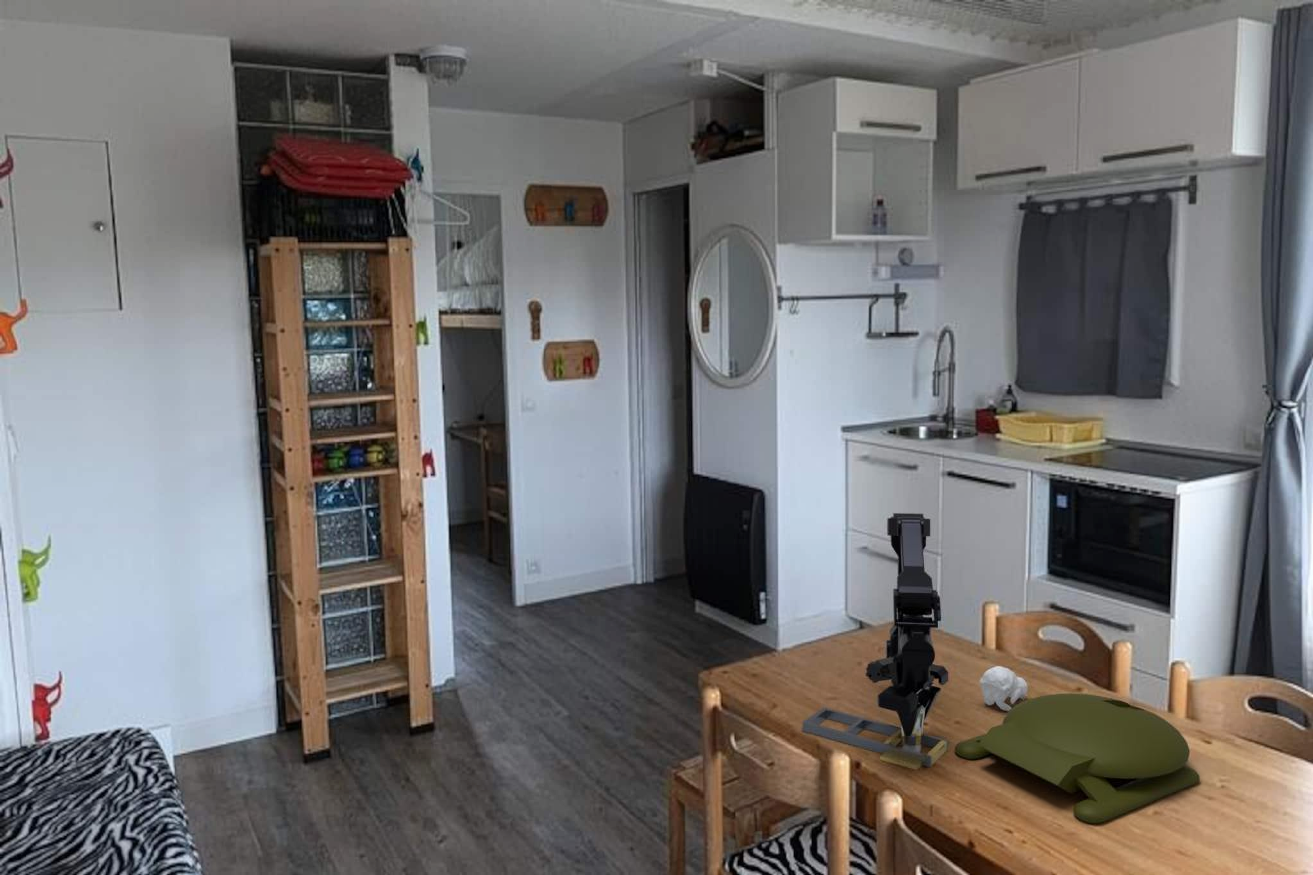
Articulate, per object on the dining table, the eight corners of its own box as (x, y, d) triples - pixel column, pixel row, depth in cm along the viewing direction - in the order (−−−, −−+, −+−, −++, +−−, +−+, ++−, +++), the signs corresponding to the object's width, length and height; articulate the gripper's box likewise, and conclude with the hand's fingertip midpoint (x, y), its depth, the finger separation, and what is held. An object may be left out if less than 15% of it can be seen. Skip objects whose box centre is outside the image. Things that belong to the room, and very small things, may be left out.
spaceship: (1093, 831, 152) (1095, 772, 151) (948, 754, 179) (949, 703, 178) (1226, 775, 168) (1230, 722, 167) (1076, 712, 195) (1077, 666, 194)
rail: (829, 711, 198) (829, 703, 198) (953, 744, 182) (953, 735, 182) (796, 735, 187) (796, 726, 187) (924, 772, 171) (924, 762, 171)
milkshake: (930, 756, 177) (930, 704, 176) (900, 754, 178) (900, 702, 177) (927, 745, 182) (928, 694, 181) (898, 744, 183) (899, 693, 182)
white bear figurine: (978, 665, 197) (1011, 656, 205) (975, 705, 198) (1008, 695, 205) (1006, 674, 192) (1038, 664, 200) (1002, 715, 193) (1035, 704, 200)
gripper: (894, 627, 189) (894, 703, 191) (850, 656, 175) (850, 738, 177) (949, 638, 182) (948, 716, 185) (909, 669, 168) (908, 754, 170)
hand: (913, 730), depth 179 cm, fingers open, 5 cm apart
